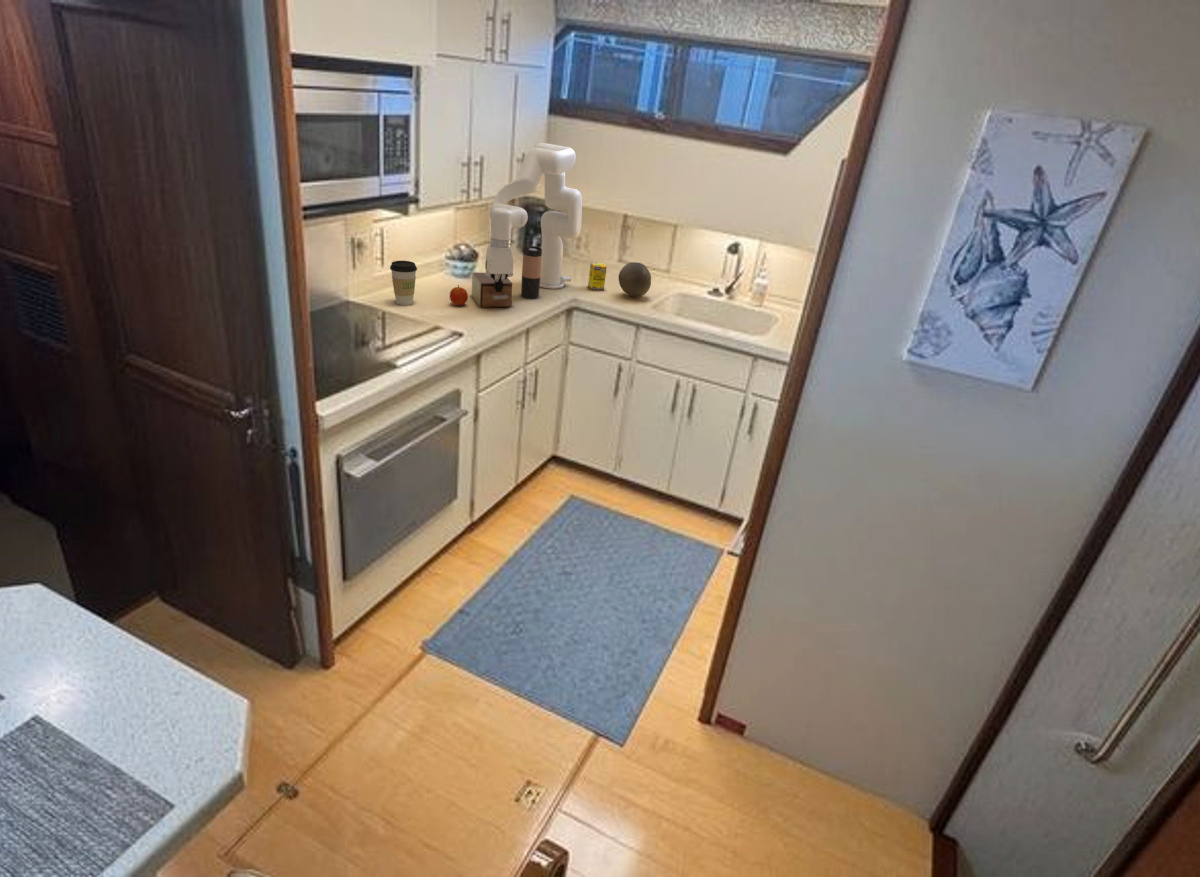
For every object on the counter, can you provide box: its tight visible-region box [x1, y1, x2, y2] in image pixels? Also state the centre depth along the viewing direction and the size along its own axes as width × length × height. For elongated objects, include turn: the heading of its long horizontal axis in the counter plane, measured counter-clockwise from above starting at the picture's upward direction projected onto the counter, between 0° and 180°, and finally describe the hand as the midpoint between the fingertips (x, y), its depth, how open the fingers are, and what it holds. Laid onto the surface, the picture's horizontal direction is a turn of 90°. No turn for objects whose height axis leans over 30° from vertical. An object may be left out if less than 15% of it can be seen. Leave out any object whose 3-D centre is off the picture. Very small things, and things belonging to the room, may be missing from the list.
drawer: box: [482, 285, 513, 307], centre depth 272 cm, size 18×11×8 cm, turn 22°
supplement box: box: [587, 262, 607, 292], centre depth 308 cm, size 6×6×11 cm
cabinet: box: [471, 272, 513, 308], centre depth 275 cm, size 15×13×10 cm
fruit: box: [449, 284, 469, 307], centre depth 267 cm, size 7×7×8 cm
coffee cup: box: [389, 260, 418, 306], centre depth 261 cm, size 10×10×15 cm
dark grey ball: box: [618, 262, 652, 298], centre depth 301 cm, size 14×14×15 cm
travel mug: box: [520, 245, 542, 300], centre depth 285 cm, size 8×8×20 cm
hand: (498, 291), depth 266 cm, fingers closed
